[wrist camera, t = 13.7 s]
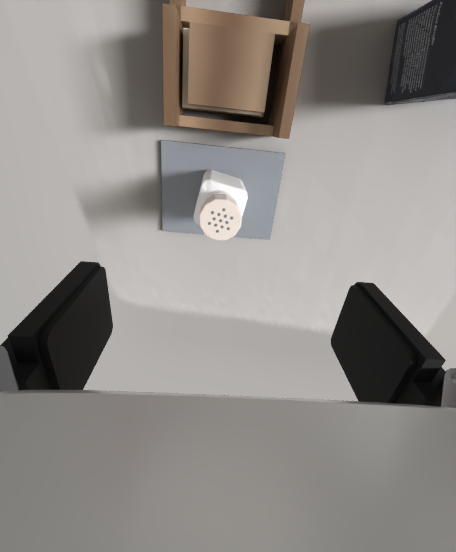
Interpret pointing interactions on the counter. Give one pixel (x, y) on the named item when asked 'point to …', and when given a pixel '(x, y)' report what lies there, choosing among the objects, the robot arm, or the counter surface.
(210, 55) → the block
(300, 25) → the brown wooden frame
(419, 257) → the counter surface
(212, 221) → the pepper shaker
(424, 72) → the small box
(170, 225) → the slate mat
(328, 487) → the robot arm
